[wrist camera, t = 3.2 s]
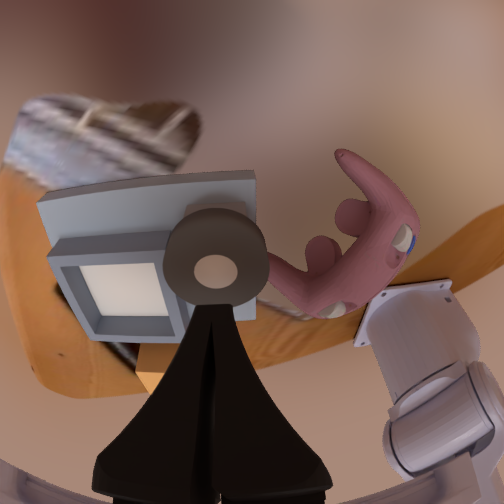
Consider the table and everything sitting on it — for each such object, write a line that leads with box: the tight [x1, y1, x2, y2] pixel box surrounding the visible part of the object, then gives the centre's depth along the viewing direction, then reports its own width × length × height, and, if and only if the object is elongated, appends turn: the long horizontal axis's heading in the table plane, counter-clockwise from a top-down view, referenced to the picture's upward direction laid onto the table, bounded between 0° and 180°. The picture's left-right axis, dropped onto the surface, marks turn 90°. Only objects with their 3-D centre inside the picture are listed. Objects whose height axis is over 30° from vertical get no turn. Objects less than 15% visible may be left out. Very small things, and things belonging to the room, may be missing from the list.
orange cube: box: [135, 343, 180, 395], centre depth 23 cm, size 5×5×5 cm
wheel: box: [162, 208, 270, 307], centre depth 15 cm, size 5×5×4 cm
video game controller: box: [267, 149, 420, 319], centre depth 16 cm, size 10×5×7 cm, turn 148°
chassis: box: [36, 170, 256, 343], centre depth 17 cm, size 14×11×4 cm
